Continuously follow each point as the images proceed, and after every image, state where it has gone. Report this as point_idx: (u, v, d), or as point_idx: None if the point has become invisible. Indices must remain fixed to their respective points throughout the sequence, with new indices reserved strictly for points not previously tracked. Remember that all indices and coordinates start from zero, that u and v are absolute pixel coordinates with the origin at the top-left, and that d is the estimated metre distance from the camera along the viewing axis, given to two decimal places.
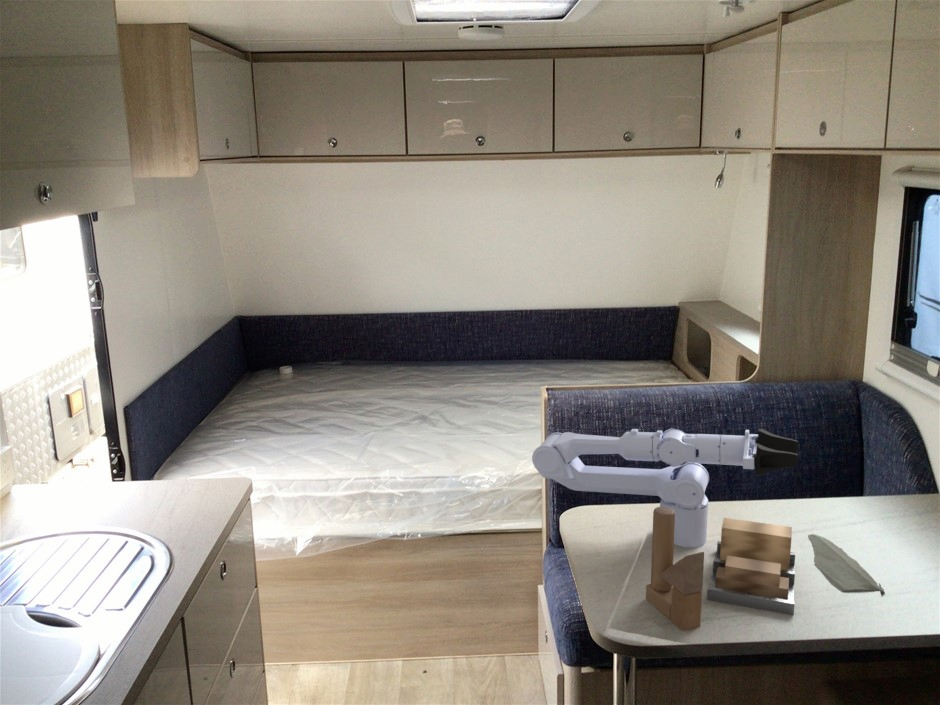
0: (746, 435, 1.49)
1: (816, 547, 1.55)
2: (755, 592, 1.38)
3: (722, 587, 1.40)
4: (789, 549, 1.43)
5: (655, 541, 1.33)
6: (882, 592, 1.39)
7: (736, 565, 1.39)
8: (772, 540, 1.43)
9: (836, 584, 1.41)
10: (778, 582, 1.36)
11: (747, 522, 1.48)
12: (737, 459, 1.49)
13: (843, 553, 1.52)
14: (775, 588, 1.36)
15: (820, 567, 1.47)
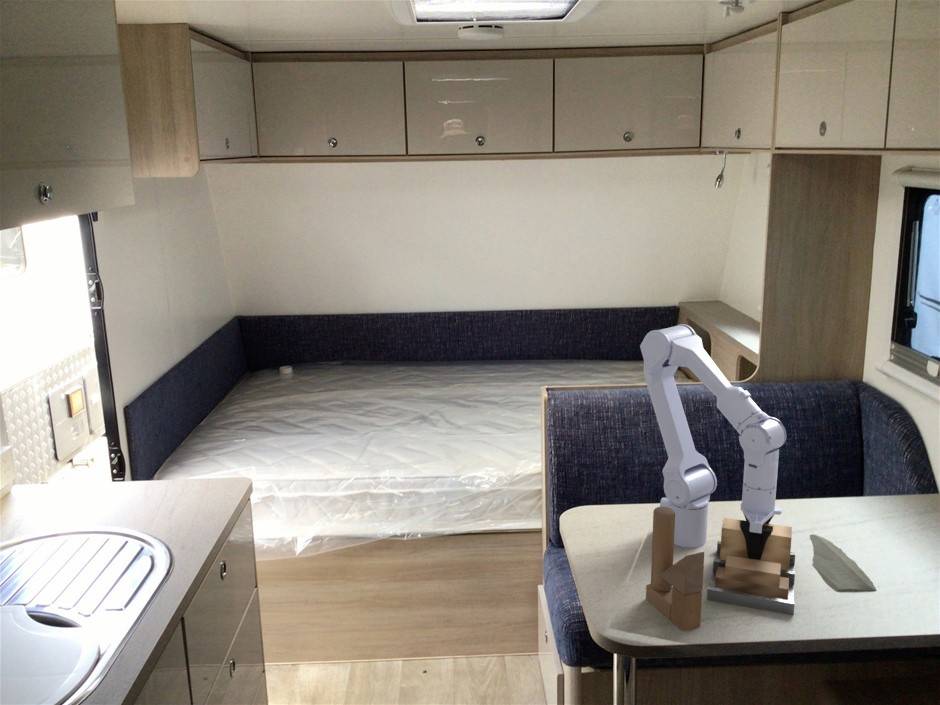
0: (777, 512, 1.43)
1: (815, 547, 1.55)
2: (755, 592, 1.38)
3: (722, 587, 1.40)
4: (789, 549, 1.43)
5: (655, 541, 1.33)
6: None
7: (736, 565, 1.39)
8: (772, 540, 1.43)
9: (831, 583, 1.41)
10: (778, 582, 1.36)
11: None
12: (753, 504, 1.43)
13: (842, 553, 1.52)
14: (775, 588, 1.36)
15: (816, 566, 1.47)
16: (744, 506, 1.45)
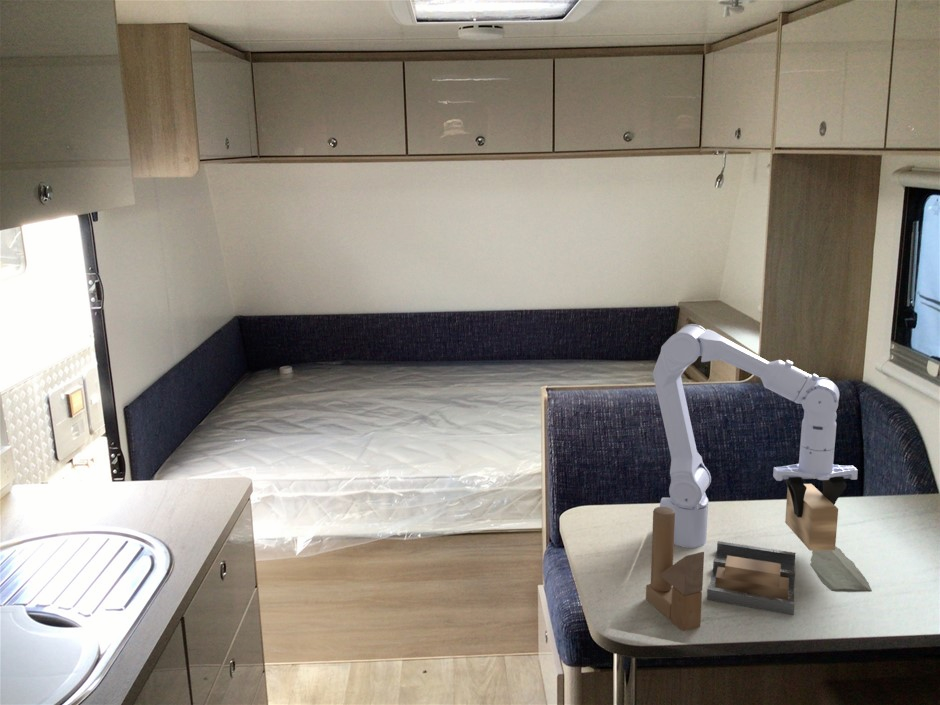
0: (817, 477, 1.42)
1: None
2: (755, 592, 1.38)
3: (722, 587, 1.40)
4: (811, 520, 1.41)
5: (655, 541, 1.33)
6: None
7: (736, 565, 1.39)
8: (805, 507, 1.44)
9: (826, 583, 1.41)
10: (778, 582, 1.36)
11: (816, 492, 1.48)
12: (799, 460, 1.45)
13: (840, 553, 1.51)
14: (775, 588, 1.36)
15: (813, 566, 1.48)
16: None
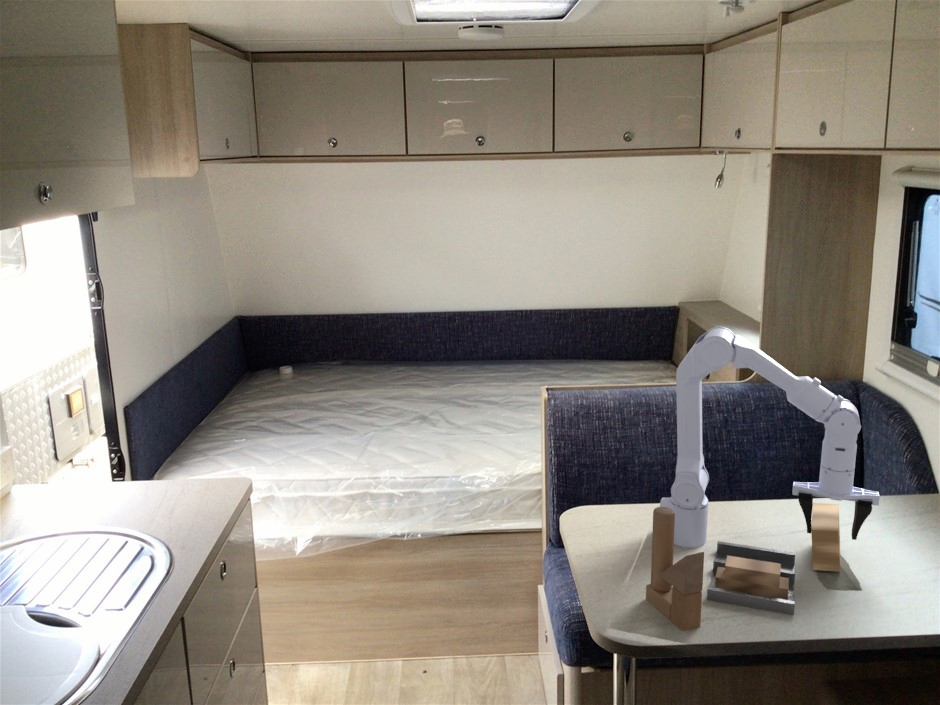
0: (829, 496, 1.44)
1: None
2: (755, 592, 1.38)
3: (722, 587, 1.40)
4: None
5: (655, 541, 1.33)
6: None
7: (736, 565, 1.39)
8: None
9: None
10: (778, 582, 1.36)
11: (834, 513, 1.49)
12: None
13: (840, 555, 1.51)
14: (775, 588, 1.36)
15: None
16: None
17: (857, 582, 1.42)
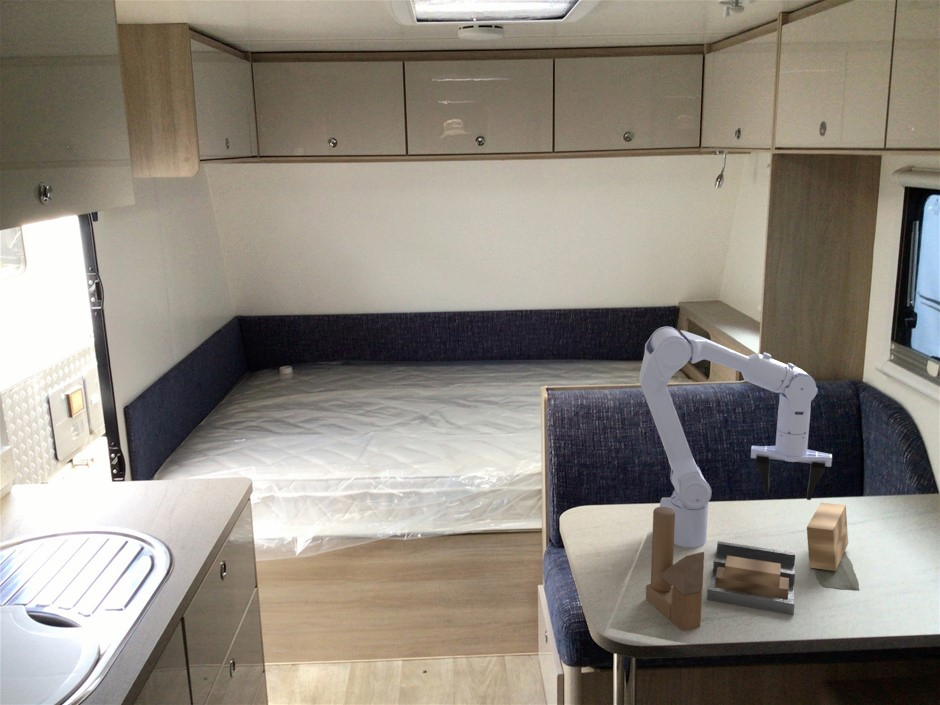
0: (784, 458, 1.51)
1: None
2: (755, 592, 1.38)
3: (722, 587, 1.40)
4: (807, 538, 1.46)
5: (655, 541, 1.33)
6: None
7: (736, 565, 1.39)
8: None
9: None
10: (778, 582, 1.36)
11: (837, 513, 1.49)
12: None
13: None
14: (775, 588, 1.36)
15: None
16: None
17: (856, 582, 1.41)
